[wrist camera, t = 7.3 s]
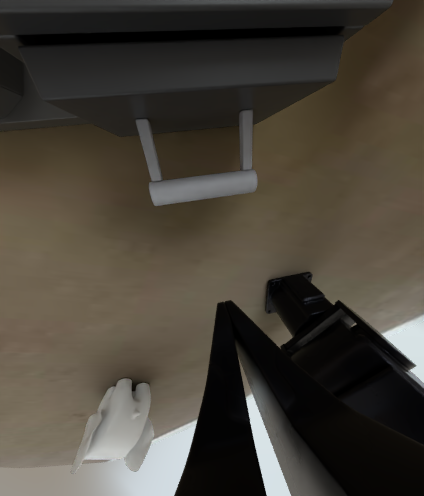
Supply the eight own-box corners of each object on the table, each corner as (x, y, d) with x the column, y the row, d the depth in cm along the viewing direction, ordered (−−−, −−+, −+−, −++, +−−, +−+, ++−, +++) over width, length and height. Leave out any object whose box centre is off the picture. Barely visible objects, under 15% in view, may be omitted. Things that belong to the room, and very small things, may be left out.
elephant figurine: (78, 400, 27) (37, 494, 19) (122, 366, 25) (95, 456, 17) (127, 408, 32) (110, 488, 24) (168, 380, 29) (164, 457, 21)
